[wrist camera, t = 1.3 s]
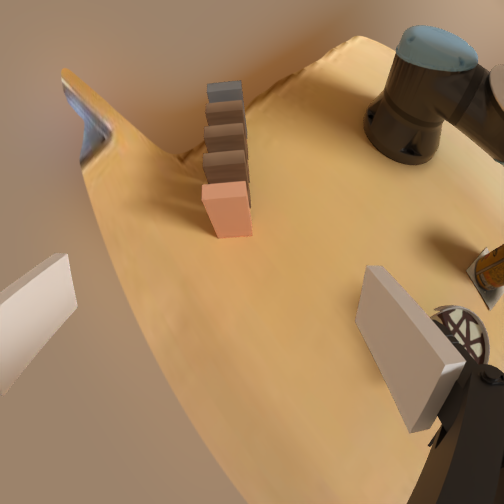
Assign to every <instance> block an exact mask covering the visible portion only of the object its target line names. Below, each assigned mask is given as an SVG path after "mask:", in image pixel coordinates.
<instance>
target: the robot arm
mask: <svg viewBox="0 0 504 504" xmlns="http://www.w3.org/2000/svg"><path fill="white" fill-rule="evenodd" d="M444 120H446V121H448V122H449V123H451V124H452V125H453V126H455V127H456V128H457V129H458V130H460V131H461V132H462V133H464V134H465V135H466V136H467V137H469V138H470V139H471V140H472V141H473V142H475V143H476V144H477V145H478V146H479V147H481V148H482V149H483V150H484V151H485V152H486V153H488V154H489V155H490V156H491V157H492V158H493V159H494V160H495V161H496V162H498V163H500V164H501V165H503V166H504V65H503V64H500V65H496V66H495V67H494V68H493V69H492V70H491V71H490V72H489V71H488V70H486V69H485V68H483V67H482V66H481V65H479V64H478V56H477V53H476V52H475V50H474V49H473V48H472V47H471V46H469V45H468V44H467V42H466V41H464V40H463V39H461V38H460V37H458V36H456V35H454V34H452V33H450V32H448V31H445V30H443V29H439V28H436V27H432V26H424V25H418V26H412V27H410V28H408V29H407V30H406V31H405V32H404V33H403V35H402V38H401V41H400V43H399V45H398V46H397V48H396V54H395V57H394V61H393V64H392V67H391V70H390V73H389V76H388V79H387V82H386V85H385V88H384V90H383V91H382V92H381V93H380V94H379V96H378V97H377V98H376V99H375V100H374V101H373V102H372V103H371V104H370V105H369V107H368V108H367V111H366V114H365V117H364V122H363V123H364V130H365V132H366V135H367V137H368V138H369V140H370V141H371V143H372V144H373V145H374V146H375V147H376V148H377V149H378V150H379V151H380V152H382V153H383V154H384V155H386V156H387V157H389V158H391V159H393V160H395V161H397V162H400V163H404V164H408V165H419V164H423V163H426V162H427V161H429V160H430V159H431V158H432V157H433V155H434V154H435V152H436V151H437V149H438V146H439V142H440V135H441V128H442V123H443V121H444ZM77 307H78V306H77V301H76V296H75V292H74V287H73V282H72V276H71V272H70V265H69V259H68V254H66V253H54V254H53V255H52V256H50V257H48V258H47V259H46V260H44V261H43V262H41V263H40V264H38V265H37V266H35V267H34V268H33V269H31V270H30V271H28V272H27V273H26V274H24V275H23V276H22V277H20V278H19V279H18V280H16V281H15V282H13V283H12V284H11V285H9V286H8V287H7V288H5V289H4V290H3V291H1V292H0V395H1V396H4V395H5V394H6V393H7V391H8V390H9V389H10V387H11V386H12V385H13V383H14V382H15V381H16V379H17V378H18V377H19V376H20V374H21V373H22V372H23V371H24V369H25V368H26V366H28V364H29V363H30V362H31V361H32V359H33V358H34V357H35V356H36V354H37V353H38V352H39V351H40V350H41V348H42V347H43V346H44V345H45V344H46V343H47V341H48V340H49V339H50V338H51V337H52V336H53V334H54V333H55V332H56V331H57V330H58V329H59V327H60V326H61V325H62V324H63V323H64V322H65V321H66V319H67V318H68V317H69V316H70V315H71V314H72V313H73V312H74V311H75V309H76V308H77ZM355 323H356V325H357V327H358V328H359V330H360V332H361V334H362V336H363V338H364V340H365V342H366V344H367V346H368V348H369V350H370V352H371V354H372V356H373V358H374V360H375V362H376V364H377V366H378V368H379V370H380V372H381V374H382V376H383V378H384V380H385V382H386V384H387V386H388V388H389V390H390V393H391V395H392V397H393V399H394V401H395V403H396V405H397V407H398V410H399V412H400V414H401V416H402V418H403V420H404V423H405V425H406V427H407V429H408V431H409V433H414V432H418V431H422V430H427V429H430V427H431V426H432V424H433V422H434V421H435V419H436V417H437V416H438V418H439V419H440V421H441V423H442V425H441V427H440V428H439V430H438V431H437V433H436V434H435V436H434V437H433V439H432V440H431V442H430V443H429V444H428V446H429V447H431V445H432V444H433V445H432V448H431V450H430V453H429V455H428V458H427V460H426V463H425V465H424V468H423V470H422V472H421V475H420V477H419V479H418V481H417V484H416V486H415V488H414V490H413V492H412V494H411V496H410V498H409V500H408V502H407V504H504V373H503V372H502V371H500V370H499V369H498V368H496V367H494V366H492V365H488V364H479V365H478V364H477V362H476V361H475V360H474V359H473V357H472V356H471V355H470V354H469V353H468V352H467V350H466V349H465V348H464V347H463V346H462V344H461V343H459V341H458V340H457V339H456V337H455V336H454V337H453V334H452V333H451V332H450V331H449V329H448V328H447V327H446V326H444V325H443V324H441V323H440V322H438V321H437V320H431V318H430V317H429V316H428V315H427V314H426V313H425V312H424V311H423V309H422V308H421V307H420V306H419V305H418V304H417V303H416V302H415V300H414V299H413V298H412V297H411V296H410V295H409V294H408V293H407V292H406V291H405V290H404V288H403V287H402V286H401V285H400V284H399V283H398V282H397V281H396V280H395V279H394V278H393V277H392V276H391V275H390V274H389V272H388V271H387V270H386V269H385V268H384V267H383V266H366V270H365V275H364V280H363V286H362V291H361V296H360V300H359V305H358V310H357V314H356V319H355Z"/></svg>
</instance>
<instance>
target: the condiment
mask: <svg viewBox="0 0 504 504" xmlns="http://www.w3.org/2000/svg"><path fill="white" fill-rule="evenodd" d="M466 271H467V273H468V275H469V276H470V278H471V280H472V281H473V283H474V284H475V286H476V288H477V289H478V291H479V292H480V293H481V295H482V297H483V299H484V301H485V302H486V304H487V305H488V307H489V309H490V311H491V309H492V308H493V307H494V305H495V304H496V303H497V301H498V300H499V299H500V297H501V296H502V295H503V293H504V244H503V245H501V246H500V247H498V248H496V249H495V250H493V251H491V252H490V253H489V251H488V249H487V247H486V249H485V250H484V251H483V252H482V253H481V254H480V255H479V256H478V258H477V259H476V260H475V261H474V262H473V263H472V264H471V266H470V267H469V268H468V269H467V270H466Z"/></svg>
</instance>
